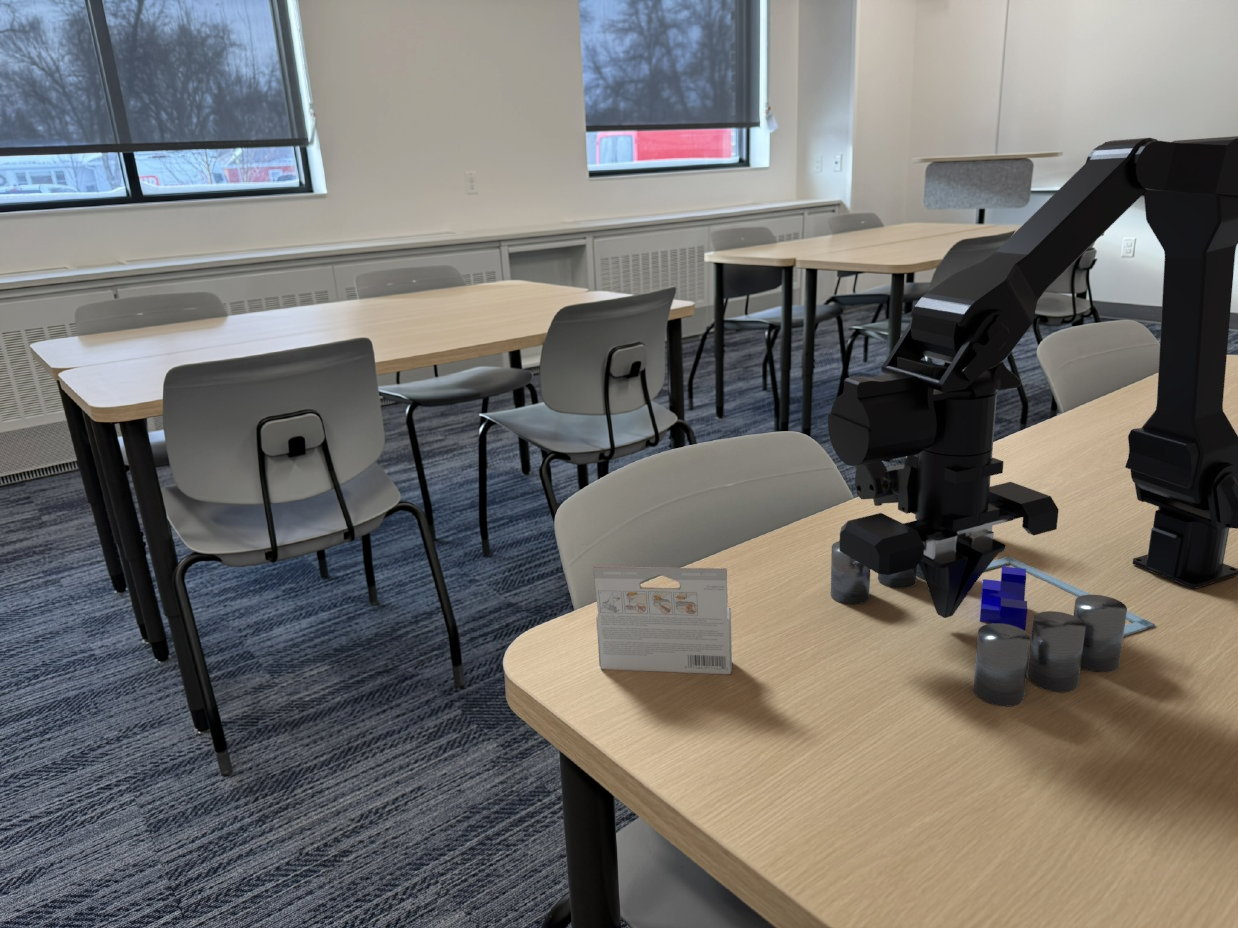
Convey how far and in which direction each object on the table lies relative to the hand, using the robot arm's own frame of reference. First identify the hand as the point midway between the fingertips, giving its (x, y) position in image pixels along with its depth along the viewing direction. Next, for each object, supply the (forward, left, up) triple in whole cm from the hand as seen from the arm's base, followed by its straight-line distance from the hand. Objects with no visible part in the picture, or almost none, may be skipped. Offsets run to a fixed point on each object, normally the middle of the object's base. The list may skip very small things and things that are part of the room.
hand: (944, 615), depth 75 cm
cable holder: (-5, +2, -2) cm, 5 cm away
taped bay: (-12, 0, -1) cm, 12 cm away
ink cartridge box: (+24, -6, -2) cm, 25 cm away
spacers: (-2, 0, -1) cm, 2 cm away
